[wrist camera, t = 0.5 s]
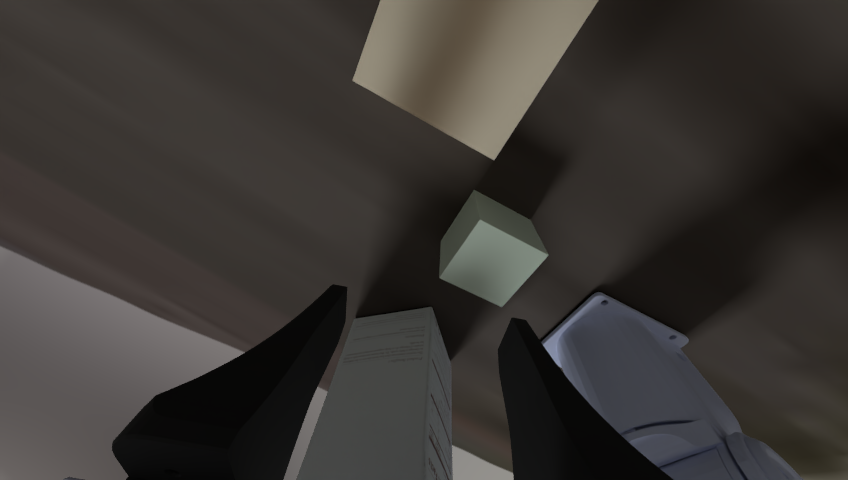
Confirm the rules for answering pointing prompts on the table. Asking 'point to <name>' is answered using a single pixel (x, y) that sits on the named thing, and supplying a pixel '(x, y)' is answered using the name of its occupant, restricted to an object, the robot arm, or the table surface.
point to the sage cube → (490, 250)
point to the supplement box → (386, 404)
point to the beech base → (468, 61)
